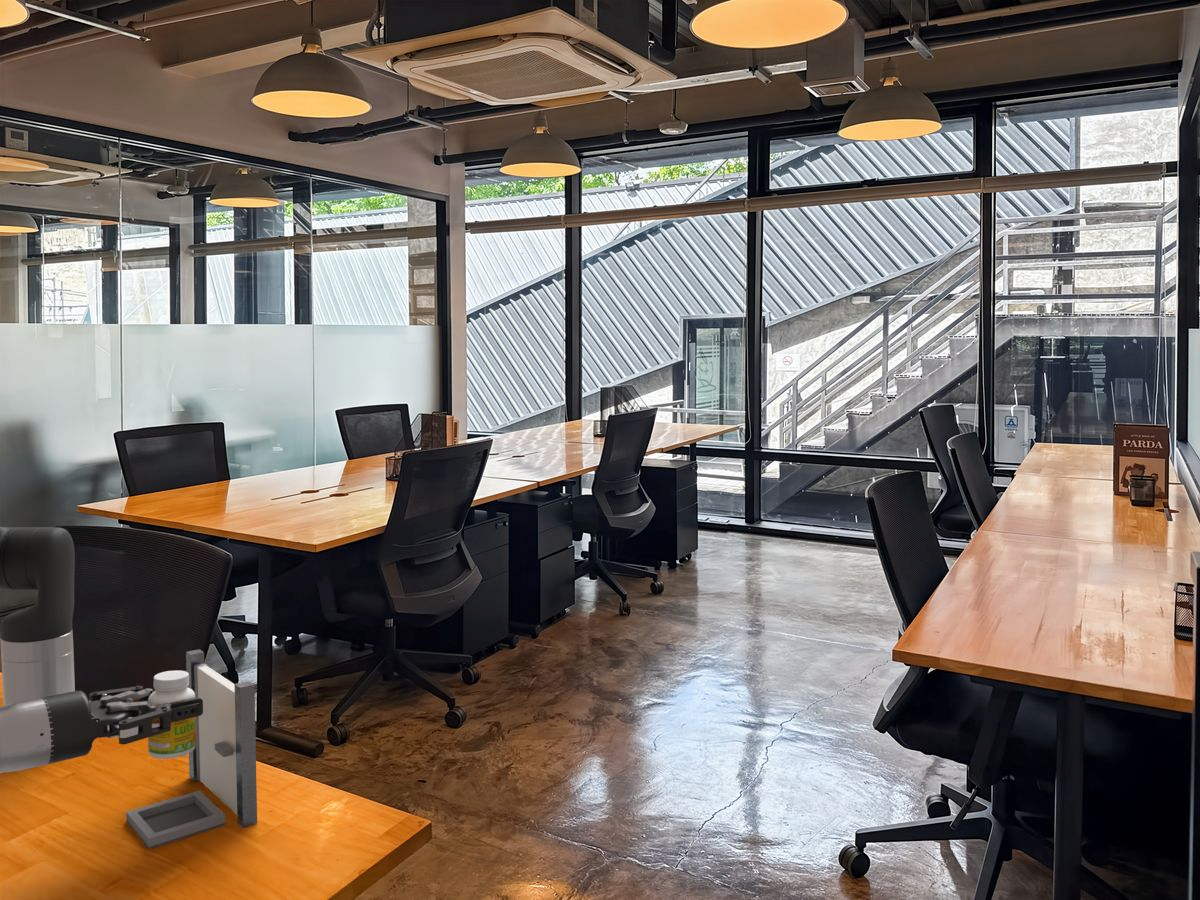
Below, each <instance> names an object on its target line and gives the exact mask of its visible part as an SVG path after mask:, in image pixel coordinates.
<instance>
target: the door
mask: <svg viewBox="0 0 1200 900" xmlns="http://www.w3.org/2000/svg"><path fill="white" fill-rule="evenodd" d="M194 680H195V698H196V697H199V698H201V699H202V700H203V713H202V715H200V716H197V717H196V759H197V780H198V781H200V782H201V783H202V784H203V785H204V786H205V787H206V788H208V789H209V790H210V791H211V792H212V793H213V795H215V796H216V797H217V798H218V799H220V801H221V802H222V803H224V805H226V806H227V807H228V808H229V809H230V810H231V811H232V812H233V813H234V814H235V815H237V779H236V733H235V687H234V684H235V683H233V682H232V681H231V680H229V679H227V678H226V677H224V676H223V675H221V674H220V673H218V672H217V671H216V670H214V669H212V668H210V667H209V666H208V664H206V663H204V664H197V665H194Z"/></svg>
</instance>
